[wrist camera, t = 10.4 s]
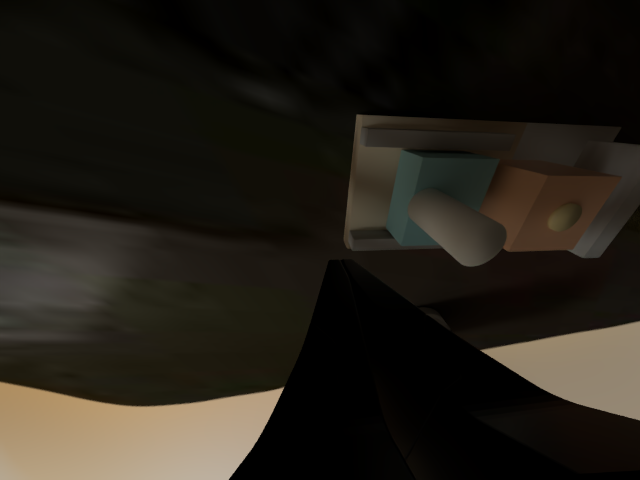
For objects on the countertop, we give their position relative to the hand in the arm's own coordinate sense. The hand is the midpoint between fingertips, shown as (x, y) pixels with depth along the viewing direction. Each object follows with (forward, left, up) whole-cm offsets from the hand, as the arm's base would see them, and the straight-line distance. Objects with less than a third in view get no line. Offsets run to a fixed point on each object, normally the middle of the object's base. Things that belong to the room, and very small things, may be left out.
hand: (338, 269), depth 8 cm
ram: (0, +8, -9) cm, 13 cm away
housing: (0, +15, -10) cm, 18 cm away
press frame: (0, +13, -11) cm, 17 cm away
